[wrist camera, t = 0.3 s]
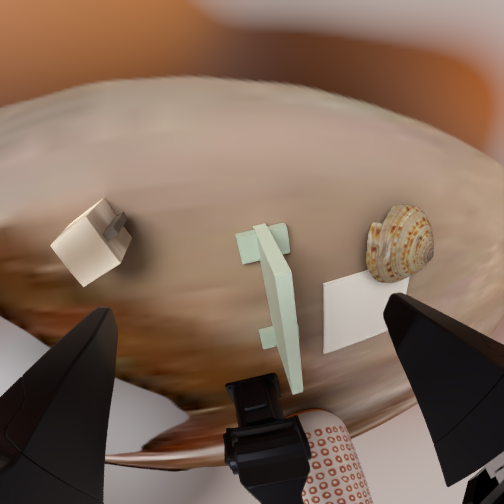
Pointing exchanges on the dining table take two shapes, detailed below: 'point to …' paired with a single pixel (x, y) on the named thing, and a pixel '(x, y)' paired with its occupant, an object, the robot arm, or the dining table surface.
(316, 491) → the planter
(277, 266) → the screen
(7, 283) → the dining table surface
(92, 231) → the small beige block
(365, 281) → the tile
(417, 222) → the seashell
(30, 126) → the dining table surface
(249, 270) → the dining table surface
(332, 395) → the dining table surface
